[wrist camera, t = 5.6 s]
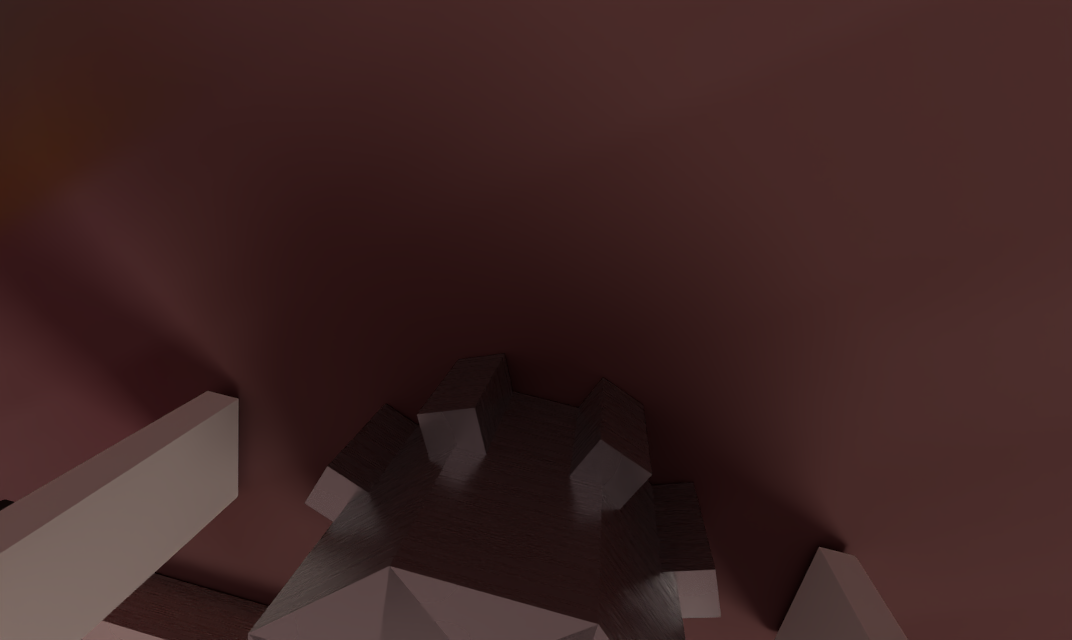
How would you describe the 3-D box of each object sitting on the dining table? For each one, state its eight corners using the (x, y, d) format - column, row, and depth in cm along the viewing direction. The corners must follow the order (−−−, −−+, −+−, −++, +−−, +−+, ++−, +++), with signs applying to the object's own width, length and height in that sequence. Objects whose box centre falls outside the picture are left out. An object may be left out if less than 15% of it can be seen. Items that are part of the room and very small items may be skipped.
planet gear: (376, 322, 11) (186, 454, 6) (740, 410, 10) (854, 635, 5) (349, 594, 13) (199, 842, 8) (639, 677, 12) (656, 994, 8)
